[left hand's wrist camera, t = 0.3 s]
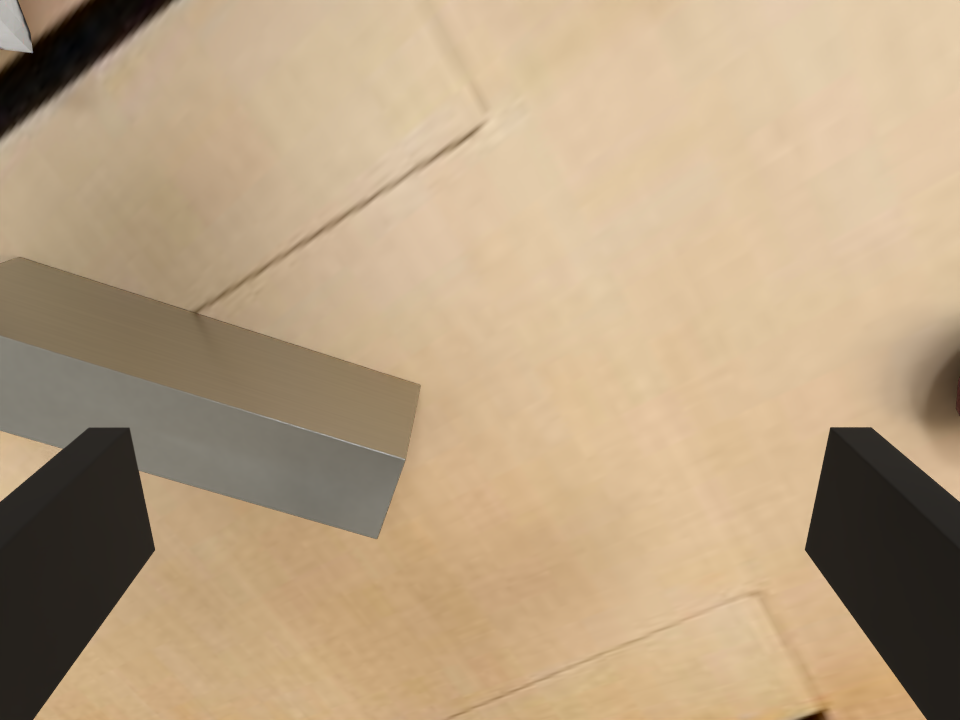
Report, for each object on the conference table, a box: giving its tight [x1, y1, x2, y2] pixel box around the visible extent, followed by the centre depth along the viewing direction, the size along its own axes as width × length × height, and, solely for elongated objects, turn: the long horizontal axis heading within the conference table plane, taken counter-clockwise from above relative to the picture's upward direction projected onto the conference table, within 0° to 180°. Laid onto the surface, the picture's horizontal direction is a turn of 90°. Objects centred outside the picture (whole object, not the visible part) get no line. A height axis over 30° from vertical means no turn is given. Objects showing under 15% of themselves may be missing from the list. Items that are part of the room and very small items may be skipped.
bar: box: [0, 257, 421, 539], centre depth 37 cm, size 24×5×9 cm, turn 71°
